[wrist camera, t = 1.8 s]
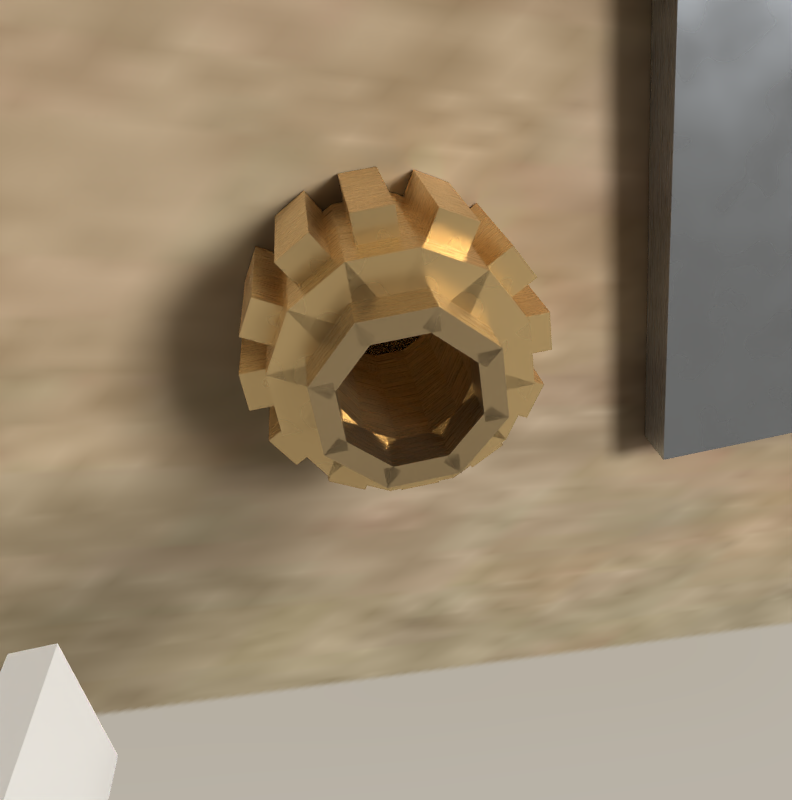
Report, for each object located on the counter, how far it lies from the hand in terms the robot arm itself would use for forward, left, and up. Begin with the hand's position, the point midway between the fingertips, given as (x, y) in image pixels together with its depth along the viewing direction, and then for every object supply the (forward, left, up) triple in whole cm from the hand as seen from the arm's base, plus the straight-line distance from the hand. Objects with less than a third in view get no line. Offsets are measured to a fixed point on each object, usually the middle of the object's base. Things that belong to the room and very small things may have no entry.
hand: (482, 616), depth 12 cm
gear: (0, 0, -13) cm, 13 cm away
